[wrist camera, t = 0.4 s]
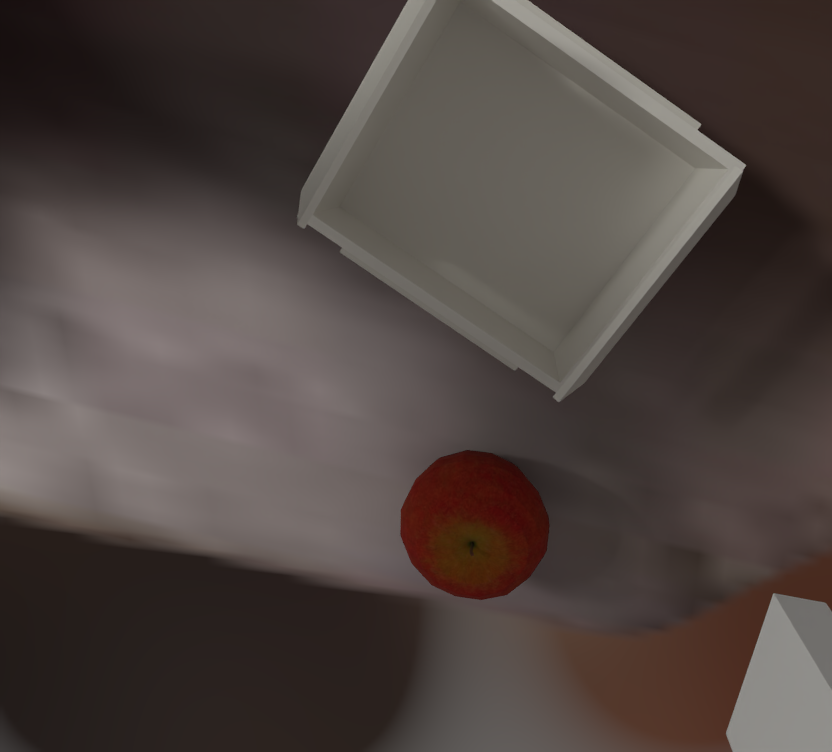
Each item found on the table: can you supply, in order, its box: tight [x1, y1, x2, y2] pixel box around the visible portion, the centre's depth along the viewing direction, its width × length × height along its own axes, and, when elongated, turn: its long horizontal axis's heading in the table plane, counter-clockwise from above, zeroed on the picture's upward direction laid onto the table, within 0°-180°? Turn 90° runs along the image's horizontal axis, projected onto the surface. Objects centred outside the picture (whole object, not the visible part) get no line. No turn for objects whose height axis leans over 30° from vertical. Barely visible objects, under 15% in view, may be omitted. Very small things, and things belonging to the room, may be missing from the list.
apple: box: [401, 450, 549, 600], centre depth 37 cm, size 8×8×8 cm
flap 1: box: [297, 0, 436, 229], centre depth 26 cm, size 6×10×1 cm
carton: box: [296, 0, 746, 392], centre depth 33 cm, size 15×13×6 cm
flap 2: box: [553, 166, 743, 402], centre depth 27 cm, size 6×10×1 cm
